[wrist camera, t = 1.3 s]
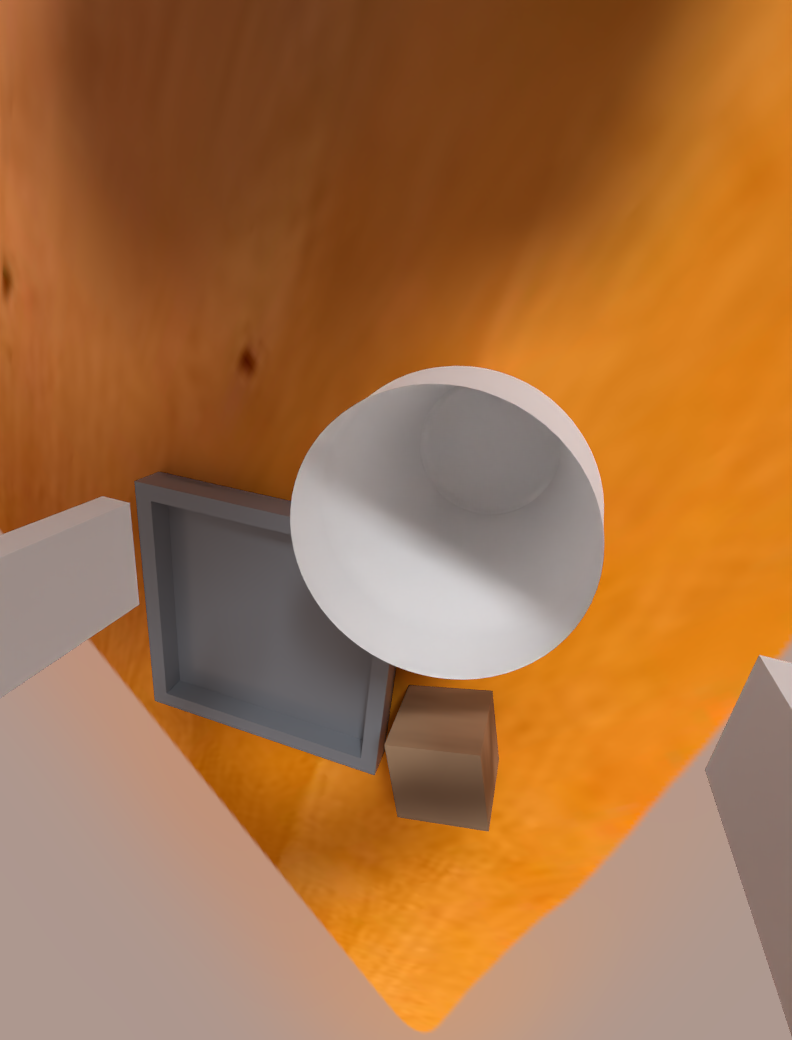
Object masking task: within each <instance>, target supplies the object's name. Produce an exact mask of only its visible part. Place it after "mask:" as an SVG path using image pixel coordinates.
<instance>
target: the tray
mask: <svg viewBox="0 0 792 1040" xmlns="http://www.w3.org/2000/svg"><path fill="white" fill-rule="evenodd" d="M134 482H135V493H136V503H137V514H138V525H139V536H140V546H141V557H142V568H143V579H144V589H145V600H146V611H147V621H148V632H149V643H150V654H151V664H152V675H153V686H154V697H155V701H157V702H160V703H163V704H166V705H169V706H172V707H175V708H178V709H181V710H184V711H187V712H190V713H193V714H196V715H199V716H201V717H204V718H207V719H210V720H213V721H216V722H219V723H222V724H225V725H228V726H231V727H234V728H237V729H240V730H243V731H246V732H249V733H252V734H255V735H257V736H260V737H263V738H266V739H269V740H272V741H275V742H278V743H281V744H284V745H287V746H290V747H293V748H296V749H299V750H302V751H305V752H308V753H311V754H313V755H316V756H319V757H322V758H325V759H328V760H331V761H334V762H337V763H340V764H343V765H346V766H349V767H352V768H355V769H358V770H361V771H364V772H367V773H369V774H372V775H375V773H376V771H377V768H378V766H379V763H380V761H381V758H382V756H383V753H384V751H385V742H386V737H387V729H388V722H389V715H390V708H391V701H392V693H393V686H394V679H395V672H396V666H394V665H392V664H389V663H387V662H385V661H383V660H381V659H379V658H377V657H376V656H374V655H372V654H370V653H369V652H367V651H366V650H364V649H363V648H361V647H360V646H358V645H357V644H356V643H355V642H353V641H352V640H351V639H349V638H348V637H347V636H346V635H345V634H344V633H343V632H342V631H340V630H339V629H338V628H337V627H336V625H335V624H334V623H333V622H332V621H331V620H330V619H329V618H328V617H327V615H326V614H325V613H324V612H323V610H322V609H321V608H320V606H319V605H318V603H317V602H316V600H315V599H314V597H313V596H312V594H311V592H310V590H309V589H308V587H307V585H306V583H305V581H304V579H303V576H302V574H301V572H300V569H299V566H298V563H297V560H296V556H295V553H294V549H293V543H292V537H291V527H290V508H291V501H288V500H284V499H279V498H275V497H270V496H266V495H261V494H257V493H252V492H248V491H243V490H239V489H234V488H230V487H225V486H221V485H217V484H212V483H208V482H203V481H199V480H194V479H190V478H185V477H181V476H176V475H172V474H167V473H163V472H157V473H154V474H152V475H149V476H146V477H144V478H141V479H138V480H136V481H134Z"/></svg>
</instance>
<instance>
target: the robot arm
mask: <svg viewBox="0 0 792 1040" xmlns="http://www.w3.org/2000/svg"><path fill="white" fill-rule="evenodd" d="M138 605H139V595H138V584H137V574H136V563H135V553H134V542H133V531H132V521H131V510H130V503H128V502H124V501H120V500H116V499H112V498H108V497H104V496H102V497H99V498H96V499H94V500H91V501H89V502H86V503H83V504H81V505H78V506H75V507H73V508H70V509H68V510H65V511H62V512H60V513H57V514H55V515H52V516H49V517H47V518H44V519H41V520H39V521H36V522H34V523H31V524H28V525H26V526H23V527H21V528H18V529H15V530H13V531H10V532H7V533H5V534H2V535H0V698H1V697H3V696H4V695H6V694H7V693H9V692H10V691H12V690H13V689H15V688H16V687H18V686H19V685H20V684H22V683H24V682H25V681H26V680H28V679H29V678H31V677H32V676H34V675H36V674H37V673H38V672H40V671H41V670H43V669H44V668H46V667H47V666H49V665H50V664H52V663H53V662H55V661H56V660H58V659H59V658H61V657H62V656H64V655H65V654H67V653H68V652H70V651H71V650H73V649H74V648H76V647H77V646H79V645H80V644H82V643H83V642H84V641H86V640H87V639H89V638H90V637H92V636H93V635H95V634H96V633H98V632H99V631H101V630H102V629H104V628H105V627H107V626H108V625H110V624H111V623H113V622H114V621H116V620H117V619H119V618H120V617H122V616H123V615H125V614H126V613H128V612H129V611H130V610H132V609H133V608H135V607H136V606H138ZM705 771H706V775H707V778H708V781H709V784H710V787H711V790H712V793H713V796H714V799H715V802H716V805H717V808H718V811H719V814H720V817H721V821H722V824H723V826H724V830H725V833H726V836H727V839H728V842H729V845H730V848H731V851H732V854H733V857H734V860H735V863H736V867H737V870H738V873H739V876H740V879H741V882H742V885H743V888H744V891H745V894H746V897H747V900H748V904H749V906H750V909H751V913H752V916H753V919H754V922H755V925H756V928H757V931H758V934H759V937H760V940H761V943H762V946H763V950H764V953H765V956H766V959H767V962H768V965H769V968H770V971H771V974H772V977H773V980H774V983H775V986H776V989H777V992H778V995H779V999H780V1002H781V1004H782V1008H783V1011H784V1014H785V1017H786V1020H787V1023H788V1026H789V1029H790V1032H791V1035H792V663H790V662H786V661H782V660H778V659H774V658H769V657H765V656H761V655H759V656H758V659H757V661H756V663H755V665H754V667H753V669H752V671H751V673H750V675H749V678H748V680H747V682H746V684H745V686H744V688H743V690H742V692H741V694H740V697H739V699H738V701H737V703H736V705H735V707H734V709H733V711H732V713H731V716H730V718H729V720H728V722H727V724H726V726H725V728H724V730H723V732H722V735H721V737H720V739H719V741H718V743H717V745H716V748H715V750H714V752H713V754H712V756H711V758H710V760H709V762H708V764H707V766H706V768H705Z"/></svg>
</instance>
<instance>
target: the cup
mask: <svg viewBox="0 0 792 1040" xmlns="http://www.w3.org/2000/svg"><path fill="white" fill-rule="evenodd" d="M603 519H604V499H603V489H602V483H601V478H600V474H599V471H598V467H597V464H596V461H595V459H594V457H593V454H592V452H591V450H590V448H589V446H588V444H587V442H586V440H585V439H584V437H583V435H582V434H581V432H580V431H579V429H578V428H577V427H576V425H575V424H574V422H573V421H572V420H571V419H570V418H569V416H568V415H567V414H566V413H565V412H564V411H563V410H562V409H561V408H560V407H559V406H558V405H557V404H556V403H555V402H554V401H553V400H551V399H550V398H549V397H547V396H546V395H545V394H543V393H542V392H541V391H539V390H538V389H536V388H534V387H533V386H531V385H529V384H528V383H526V382H524V381H522V380H519V379H517V378H515V377H513V376H510V375H507V374H504V373H501V372H498V371H494V370H490V369H486V368H479V367H471V366H446V367H435V368H430V369H424V370H420V371H417V372H414V373H410V374H407V375H405V376H402V377H400V378H398V379H395V380H393V381H392V382H390V383H388V384H386V385H384V386H383V387H381V388H380V389H378V390H377V391H375V392H374V393H372V394H371V395H370V396H369V397H367V398H365V399H364V400H362V401H360V402H358V403H357V404H355V405H353V406H352V407H350V408H349V409H347V410H346V411H345V412H343V413H342V414H340V415H339V416H338V417H337V418H336V419H335V420H333V421H332V422H331V423H330V424H329V425H328V426H327V427H326V428H325V429H324V430H323V432H322V433H321V434H320V435H319V436H318V438H317V439H316V440H315V442H314V443H313V444H312V446H311V448H310V449H309V451H308V453H307V454H306V456H305V458H304V460H303V462H302V464H301V467H300V469H299V472H298V475H297V478H296V481H295V484H294V489H293V493H292V500H291V508H290V527H291V537H292V543H293V549H294V553H295V556H296V560H297V563H298V566H299V569H300V572H301V574H302V576H303V579H304V581H305V583H306V585H307V587H308V589H309V590H310V592H311V594H312V596H313V597H314V599H315V600H316V602H317V603H318V605H319V606H320V608H321V609H322V610H323V612H324V613H325V614H326V615H327V617H328V618H329V619H330V620H331V621H332V622H333V623H334V624H335V625H336V627H337V628H338V629H339V630H340V631H342V632H343V633H344V634H345V635H346V636H347V637H348V638H349V639H351V640H352V641H353V642H355V643H356V644H357V645H358V646H360V647H361V648H363V649H364V650H366V651H367V652H369V653H370V654H372V655H374V656H376V657H377V658H379V659H381V660H383V661H385V662H387V663H389V664H392V665H394V666H396V667H399V668H401V669H404V670H407V671H410V672H414V673H417V674H421V675H425V676H430V677H436V678H444V679H479V678H486V677H493V676H497V675H501V674H505V673H508V672H511V671H514V670H517V669H520V668H522V667H524V666H526V665H528V664H531V663H533V662H534V661H536V660H538V659H540V658H541V657H543V656H545V655H546V654H547V653H549V652H550V651H551V650H553V649H554V648H556V647H557V646H558V645H559V644H560V643H561V642H562V641H563V640H564V639H566V638H567V636H568V635H569V634H570V633H571V632H572V631H573V630H574V629H575V628H576V626H577V625H578V623H579V622H580V621H581V619H582V618H583V616H584V615H585V613H586V611H587V609H588V608H589V606H590V604H591V602H592V600H593V597H594V595H595V592H596V590H597V587H598V583H599V580H600V576H601V571H602V565H603V559H604V522H603Z"/></svg>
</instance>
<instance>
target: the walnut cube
mask: <svg viewBox="0 0 792 1040" xmlns="http://www.w3.org/2000/svg"><path fill="white" fill-rule="evenodd" d="M385 751H386V756H387V762H388V767H389V773H390V778H391V784H392V789H393V794H394V800H395V805H396V811H397V816H398V817H401V818H407V819H413V820H420V821H426V822H432V823H439V824H445V825H451V826H458V827H464V828H470V829H477V830H483V831H489V826H490V819H491V811H492V804H493V797H494V790H495V783H496V776H497V769H498V762H499V756H498V745H497V735H496V724H495V714H494V703H493V693H492V691H486V690H472V689H458V688H444V687H430V686H416V685H409V687H408V689H407V692H406V694H405V696H404V699H403V701H402V704H401V706H400V708H399V711H398V713H397V716H396V718H395V721H394V723H393V725H392V728H391V730H390V733H389V735H388V737H387V740H386V742H385Z"/></svg>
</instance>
